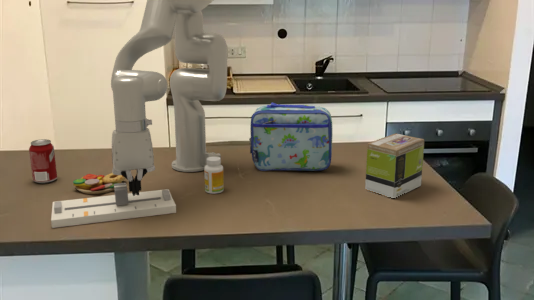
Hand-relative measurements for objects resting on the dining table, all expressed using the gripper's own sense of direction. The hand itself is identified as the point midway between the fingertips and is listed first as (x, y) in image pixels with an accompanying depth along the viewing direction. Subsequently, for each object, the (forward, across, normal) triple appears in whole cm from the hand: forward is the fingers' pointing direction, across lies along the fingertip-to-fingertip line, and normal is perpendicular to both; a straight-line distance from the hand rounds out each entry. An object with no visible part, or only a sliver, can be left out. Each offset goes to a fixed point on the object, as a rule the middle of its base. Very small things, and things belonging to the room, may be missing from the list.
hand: (135, 193), depth 140 cm
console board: (+4, +6, 0) cm, 7 cm away
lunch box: (+4, -51, -18) cm, 54 cm away
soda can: (+4, +23, -29) cm, 38 cm away
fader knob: (+2, +4, 0) cm, 4 cm away
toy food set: (+5, +8, -19) cm, 21 cm away
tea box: (+4, -72, +9) cm, 73 cm away
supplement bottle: (+4, -22, -6) cm, 24 cm away
